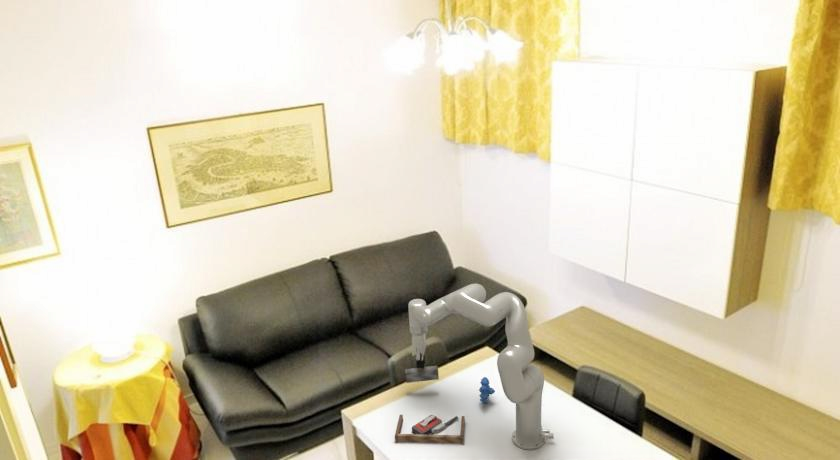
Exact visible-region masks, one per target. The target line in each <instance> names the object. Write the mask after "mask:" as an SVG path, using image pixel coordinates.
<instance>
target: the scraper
mask: <svg viewBox="0 0 840 460" xmlns="http://www.w3.org/2000/svg"><path fill="white" fill-rule="evenodd" d="M420 357H421V356H420ZM423 360H424V358H423ZM404 370H405V372H404V373H405V381H406V384H409V383H418V382H427V381H437V380H439V379H440V377H439V368H438V365H432V366H431V365H430V366H429V365H428V366H424V368H417V367H412V368H405V369H404Z"/></svg>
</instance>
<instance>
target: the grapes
mask: <svg viewBox="0 0 840 460" xmlns="http://www.w3.org/2000/svg"><path fill="white" fill-rule="evenodd" d="M479 383H480V385H481V386H480V387H479V389H478V391H479V392H480V394H479V395H478V396H479V397H480V399H479V401H480V403H481V404H483V405H485V404H487V403H489V401H490V400H489V399H488V398H489V397H490V395H493V394H495V392H496V391H495V389H494V388H493V387H490V379H489V378H488V377H486V376H483V378H481V379H480V382H479Z"/></svg>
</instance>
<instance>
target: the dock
mask: <svg viewBox="0 0 840 460" xmlns="http://www.w3.org/2000/svg"><path fill="white" fill-rule="evenodd" d="M403 422H404V415H403V414H399V417H398V421H397V425H396V428H395V429H396V430H395V433H394V442H395V443H411V444H412V443H415V444H447V445H450V444H451V445H453V444H454V445H464V442H465V441H464V438H465V427H466V418H465V415H461V421H460V430H459V435H456V434H453V435H452V434H429V435H426V434H413V433H401V432H402V429H403V428H402V427H403Z"/></svg>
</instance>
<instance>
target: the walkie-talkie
mask: <svg viewBox="0 0 840 460" xmlns="http://www.w3.org/2000/svg"><path fill="white" fill-rule="evenodd" d="M458 418H459V416H458V415H456V416H454V417H453V418H450V420H447V422H444V423H443V421H442V419H440V418H439V417H437V416H436V415H434V414H431V415H428V416H427V417H425V418H423V419H422V420H421V421H419V422H417V423H415V425H412V426H411V434H426V435H437V434H439V433H441V432H443V431H445V430H446V429H447V428H446V427H447V426H448V425H449V424H451V423H453V422H454V421H455V420H457V419H458Z"/></svg>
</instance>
